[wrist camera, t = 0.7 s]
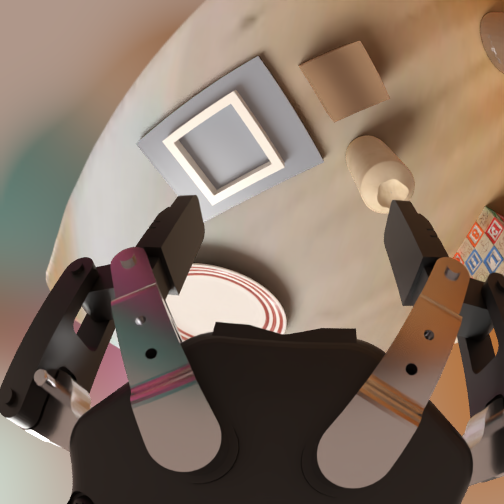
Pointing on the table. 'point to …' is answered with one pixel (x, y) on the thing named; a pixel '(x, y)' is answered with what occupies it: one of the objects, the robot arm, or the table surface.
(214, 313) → the dinner plate
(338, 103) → the walnut block
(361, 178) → the candle
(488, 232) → the stack of blocks
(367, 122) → the table surface
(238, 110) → the baseplate
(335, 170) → the table surface
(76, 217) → the table surface
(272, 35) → the table surface
